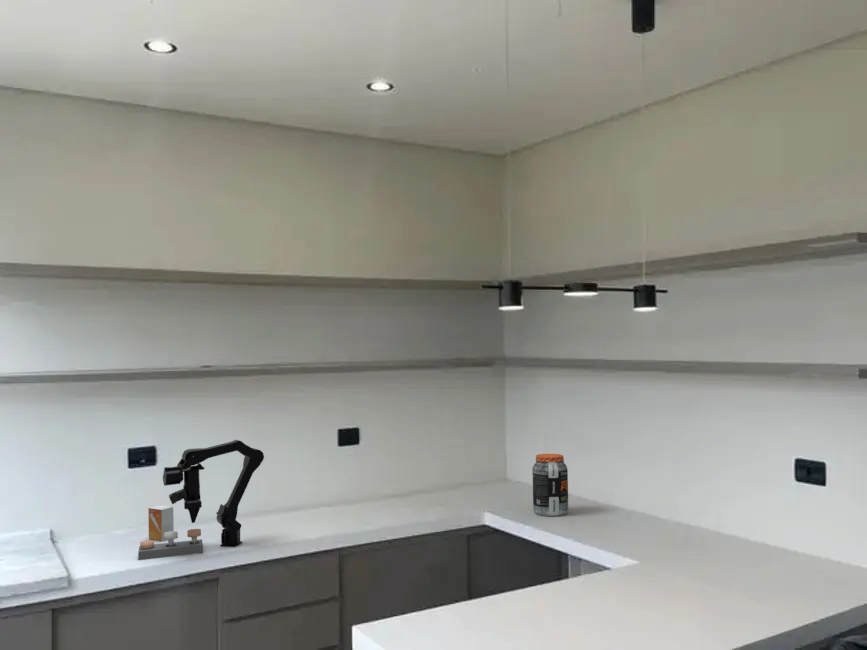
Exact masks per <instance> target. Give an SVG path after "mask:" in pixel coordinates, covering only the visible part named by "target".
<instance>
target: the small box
mask: <svg viewBox="0 0 867 650" xmlns="http://www.w3.org/2000/svg"><path fill="white" fill-rule="evenodd" d="M147 511H148V540H153V541H158V542H164V541H166V540H165V539H164V533H165V532H169V531H175V528H174V526H175V525H174V506H169V505H163V504H162V505H161V504H159V505H154V506H150V507H148V510H147Z"/></svg>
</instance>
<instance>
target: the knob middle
mask: <svg viewBox="0 0 867 650" xmlns="http://www.w3.org/2000/svg"><path fill="white" fill-rule="evenodd" d="M178 534H179V532H178V531H176V530H174V531H169V532H165V533H164V539H165V541H168V542H167V543H168V547H170V546H174V542H175V540H176V539H178V538H179V535H178Z"/></svg>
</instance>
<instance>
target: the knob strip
mask: <svg viewBox="0 0 867 650" xmlns="http://www.w3.org/2000/svg"><path fill="white" fill-rule="evenodd" d="M195 553H197V554H203V553H204V543H203V539H197V544H192V539H190V540H183V541H174V546H170V547H168V542H164V543H162V542H161V543H154V547H153V548H150V549H141V548H140V545H139V547H138V553H137V554H138V555H137V556H138V557H137V559H138V561H142V560H149V559H158V558H160V559H161V558H167V557H177V556H187V555H194V554H195Z"/></svg>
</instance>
